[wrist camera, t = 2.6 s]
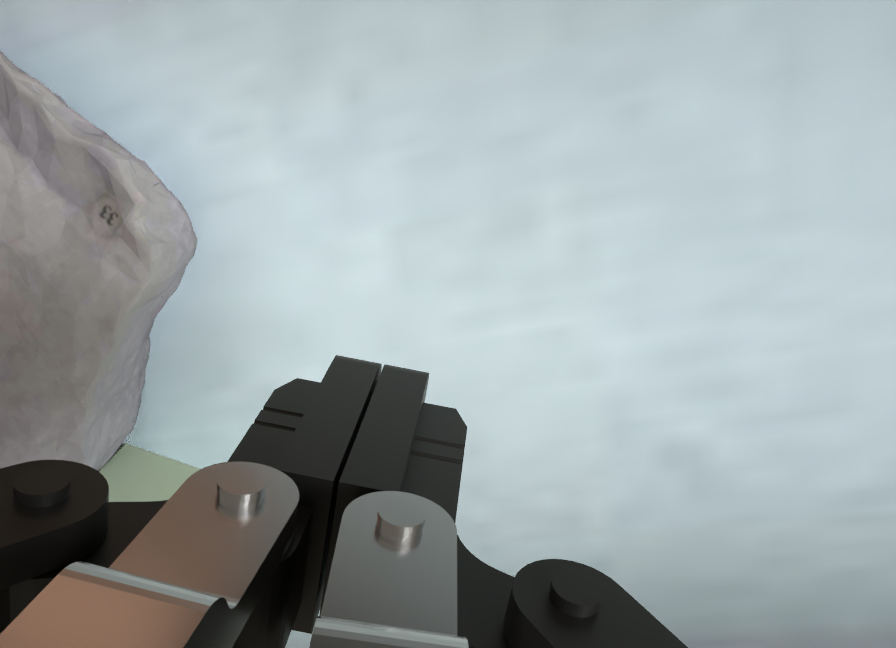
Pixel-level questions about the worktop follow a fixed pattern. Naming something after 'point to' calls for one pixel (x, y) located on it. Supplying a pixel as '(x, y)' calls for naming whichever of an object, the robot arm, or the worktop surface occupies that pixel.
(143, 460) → the sage block
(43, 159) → the stone block
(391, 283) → the worktop surface
